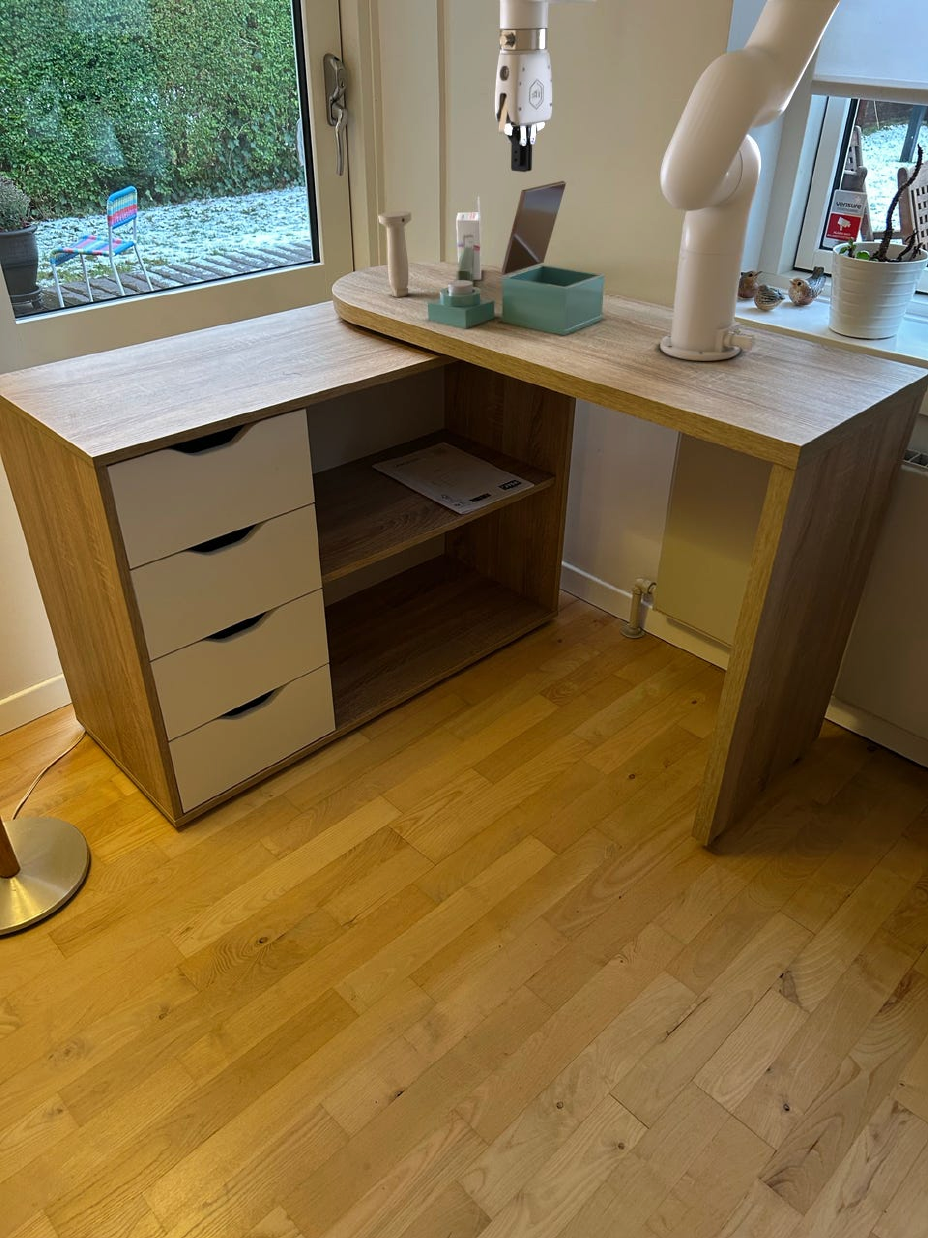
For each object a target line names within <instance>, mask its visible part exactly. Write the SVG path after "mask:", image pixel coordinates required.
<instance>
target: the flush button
mask: <svg viewBox="0 0 928 1238" xmlns="http://www.w3.org/2000/svg"><path fill="white" fill-rule="evenodd" d="M473 287H474V281H473V282H471V281H467V280H457V279H456V280H451V281H449V282H448V283H447V288H448V293H449V294H454V295H464V294H470V293H473Z"/></svg>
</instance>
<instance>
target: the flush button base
mask: <svg viewBox="0 0 928 1238" xmlns="http://www.w3.org/2000/svg"><path fill="white" fill-rule="evenodd" d="M482 293H483V292H482V289H481V288H479V287H476V286H473V293H470V294H464V295H454V294H449V293H448V287H445V288H442V289H441V290H440V291H439V298H437V299H434V300H431V301H428V302H427V315H428V317H427V318H428V321H431V322H436V323H440V324H445V325H448V326H452V327H453V326H454V327H456V328H457V327H458V328H462V329H468V328H472V327H473V326H476V325H479V324H482V323H485V322H487V321H491V320H493V319H495V300H494V299H490V298H483V295H482Z"/></svg>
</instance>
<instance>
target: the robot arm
mask: <svg viewBox="0 0 928 1238" xmlns="http://www.w3.org/2000/svg"><path fill="white" fill-rule="evenodd" d="M597 1H598V0H499V54H498V59H497V67H496V77H495V89H494V91H495V92H494V114H495V121H496V122H497V123H498V124H499V128H498V133H499V134H500V135H504V136H507V138H508V144H509V145H510V147H511V148H510V169H511V171H512V172H519V173H520V172H521V173H527V172H531V171H532V170H533V145H534V144H535V141H536V135H537V132H539V131H540V130H542V129H544V127H545V123H546V122H548V121H550V120H551V118H552V115H553V76H552V75H553V74H552V63H551V57H550V52H549V51H548V37H549V36H548V35H549V4H555V5H556V4H557V5H558V4H559V5H560V4H561V5H562V4H563V5H564V4H586V3H587V4H588V3H593V2H597ZM840 3H841V0H767V1H766V2H765V4H764V7H762V8H763V9H762V10H761V12H760V16H759V17H758V21H757V22H756V24H755V27H754V28H753V30H752V32H751V35H750V36H749V38H748V40H747V42H746V44H745V45H744V47H743V48H742V49H736V50H732V51H729V52H726V53H723V54H722V55H720V56H718V57H717V58H715V59H714V60H713V61H712V62H711V63H710V64H708V66H707V68H706V69H704V71H703V72H702V74H701V76H700V77H699V78H698V80H697V82H696V84H695V86H694V87H693V90H692V92H691V94H690V96H689V99H688V101H687V103H686V105H685V108H684V110H683V112H682V114H681V117H680V118H679V121H678V123H677V126H676V127H675V130H674V132H673V135H672V136H671V139H670V142H669V144H668V146H667V148H666V150H665V153H664V156H663V159H662V163H661V167H660V174H659V182H660V188H661V192H662V195H663V196H664V198H665V199H666V201H667V203H669V204H670V205H671V206H672V207H674V208H675V209H677V210H680V211H683V212H684V211H685V215H684V218H683V224H682V230H681V236H680V246H679V254H678V265H677V274H676V282H675V283H676V284H675V291H674V292H675V294H674V301H673V302H674V303H673V312H672V313H673V314H672V323H671V332H670V334H667V335H665V336H663V337H662V338H661V340H660V345H659V346H660V347H659V348H660V350H661V351H662V352H663V353H665V354H666V355H668V356H671V357H674V358H678V359H683V360H688V361H700V362H710V361H711V362H712V361H720V360H726V359H730V358H732V357H735V356H737V355H738V354H739V353H740V351H741V350H745V351H752V350H753V348H754V346H755V342H756V341H755V340H756V339H755V335H754V333H753V334H752V333H748V332H742V331H741V330H740V325H741V322H740V321H736V320H735V316H736V309H737V301H738V296H739V288H740V281H741V280H740V279H741V273H742V267H743V260H744V250H745V246H746V238H747V232H748V226H749V221H750V215H751V211H752V207H753V203H754V202H753V201H754V199H755V196H756V192H757V188H758V184H759V180H760V175H761V168H762V164H761V163H762V161H761V153H760V150H759V147H758V144H757V143H756V141H755V140H754V138H752V136H751V135H750V134H749V132H750V130H752V129H757V128H761V127H764V126H766V125H767V126H768V125H769V124H771V123H773V122H774V121H775V120H777V119H778V118H779V117H780V116H781V115H782V114H783V113H784V111H785V110H786V108H787V106H788V105H789V103H790V101H791V99H792V97H793V94H794V92H795V91H796V88H797V86H798V85H799V83H800V81H801V79H802V77H803V75H804V73H805V70H807V67H808V65H809V63H810V61H811V59H812V57H813V55H814V54H815V51H816V49H817V48H818V46H819V43H820V41H821V39H822V38H823V37H822V36H823V35H824V33H825V31H826V29H827V27H828V25H829V24H830V21H831V19H832V17H833V16H834V13H835V12H836V10H837V8H838V6H839V4H840Z"/></svg>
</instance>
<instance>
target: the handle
mask: <svg viewBox="0 0 928 1238" xmlns="http://www.w3.org/2000/svg"><path fill="white" fill-rule="evenodd" d="M377 217H378V221H379V224H381V225H383V226H384V227H386V234H387V235H386V236H387V237H386V238H387V239H386V240H387V272H388V273H387V274H388V280H389V286H390V288H391V289H390V292H391V296H392V297H395V298H400V297H402V298H403V297H406V296H407V295H408V293H409V287H408V286H409V260H408V252H407V243H406V232H405V231H406V228H405V227H406V226H407V224H408V223H410V221H411V220H412V212H411V211H407V210H396V211H388V212H383V213H380V214H378V216H377Z"/></svg>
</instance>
